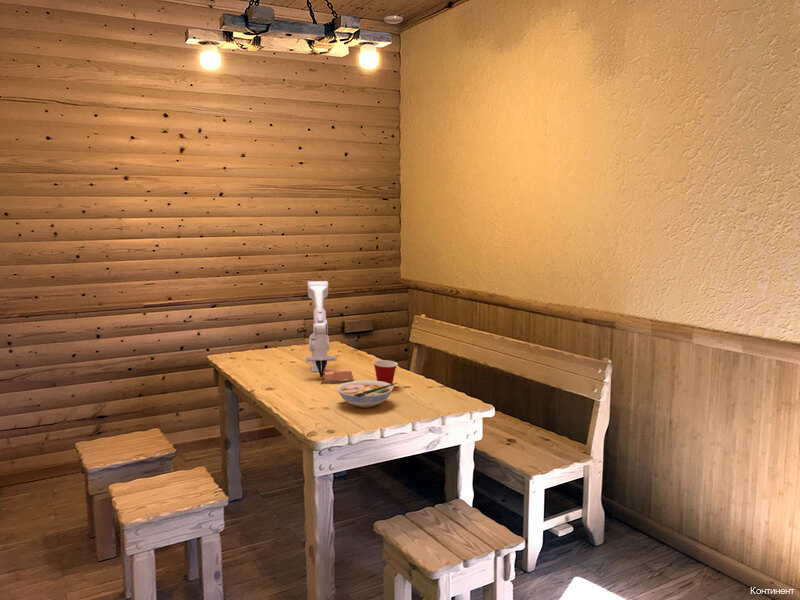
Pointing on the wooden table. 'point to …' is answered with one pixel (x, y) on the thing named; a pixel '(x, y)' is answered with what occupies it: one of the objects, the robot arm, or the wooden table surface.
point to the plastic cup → (385, 370)
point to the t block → (336, 374)
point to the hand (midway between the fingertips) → (321, 376)
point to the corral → (338, 381)
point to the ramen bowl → (365, 392)
